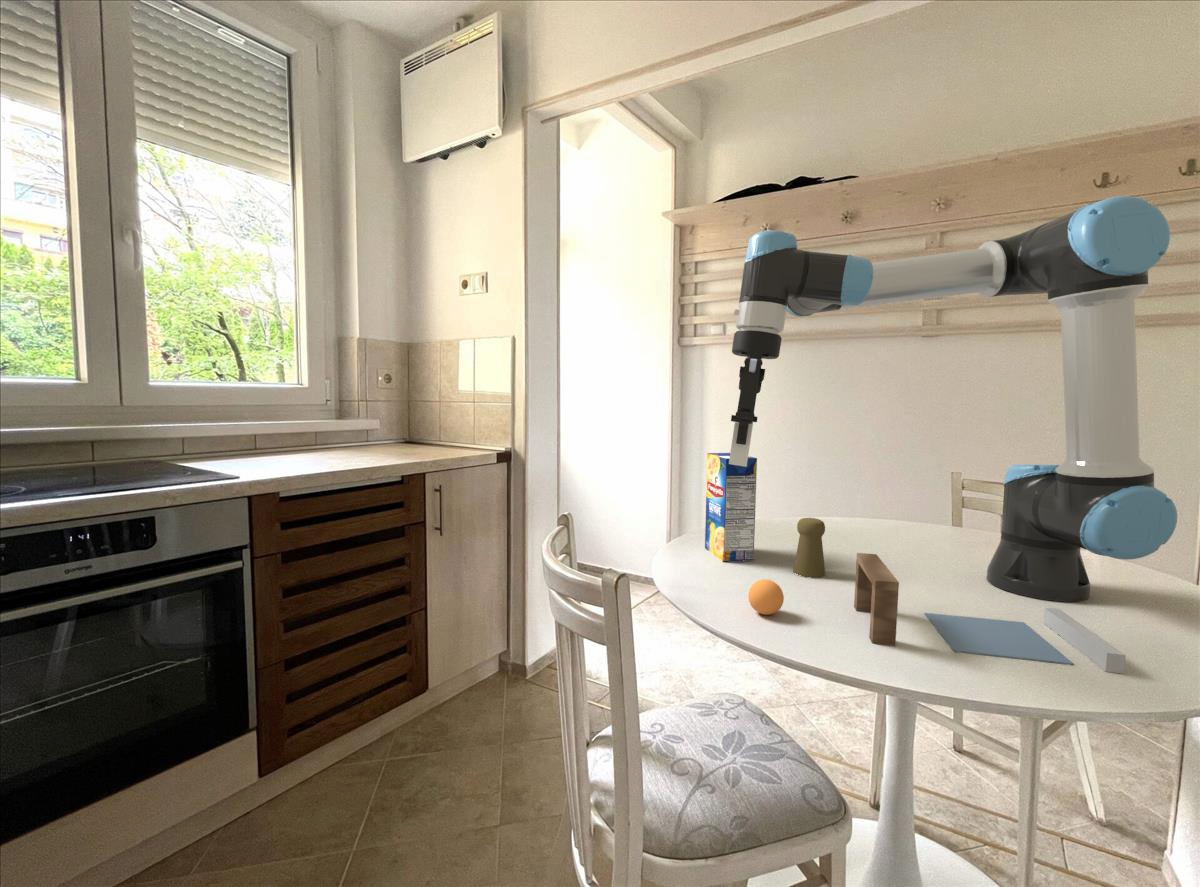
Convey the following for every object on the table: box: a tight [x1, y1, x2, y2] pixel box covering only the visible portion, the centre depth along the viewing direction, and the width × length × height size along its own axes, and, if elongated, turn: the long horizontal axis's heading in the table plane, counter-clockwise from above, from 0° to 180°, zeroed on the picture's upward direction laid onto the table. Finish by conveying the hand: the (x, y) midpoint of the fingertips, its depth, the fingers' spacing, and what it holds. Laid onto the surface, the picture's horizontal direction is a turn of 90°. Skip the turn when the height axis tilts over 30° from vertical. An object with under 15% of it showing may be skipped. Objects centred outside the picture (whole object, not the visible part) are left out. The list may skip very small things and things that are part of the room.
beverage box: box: [704, 452, 758, 562], centre depth 124 cm, size 7×11×22 cm, turn 10°
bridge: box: [853, 552, 900, 647], centre depth 87 cm, size 3×14×9 cm, turn 165°
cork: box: [792, 517, 826, 579], centre depth 111 cm, size 6×6×11 cm
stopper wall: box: [1042, 607, 1127, 674], centre depth 80 cm, size 2×16×2 cm, turn 165°
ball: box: [747, 578, 785, 616], centre depth 91 cm, size 6×6×6 cm
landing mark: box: [923, 612, 1075, 666], centre depth 83 cm, size 14×14×1 cm
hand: (738, 461), depth 93 cm, fingers open, 13 cm apart
